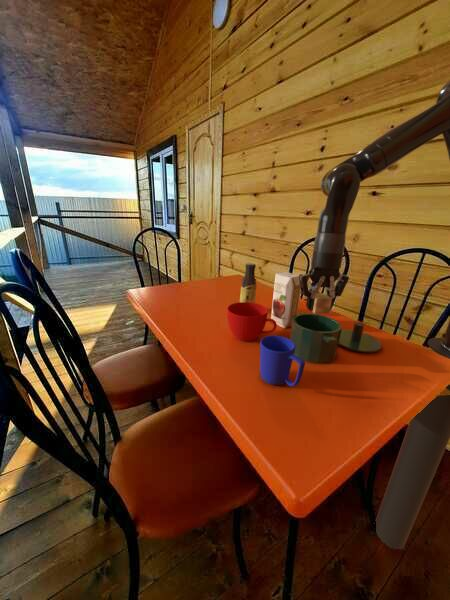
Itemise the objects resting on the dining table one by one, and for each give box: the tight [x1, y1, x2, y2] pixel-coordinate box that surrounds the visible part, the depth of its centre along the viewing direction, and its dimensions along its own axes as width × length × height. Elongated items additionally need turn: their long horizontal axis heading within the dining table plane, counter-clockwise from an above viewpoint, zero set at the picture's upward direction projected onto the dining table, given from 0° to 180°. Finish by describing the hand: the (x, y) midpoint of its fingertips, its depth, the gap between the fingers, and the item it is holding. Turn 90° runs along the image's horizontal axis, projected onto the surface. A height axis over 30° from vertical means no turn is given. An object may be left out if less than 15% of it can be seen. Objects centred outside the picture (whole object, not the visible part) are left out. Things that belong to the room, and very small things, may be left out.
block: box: [311, 292, 332, 315], centre depth 72 cm, size 4×4×4 cm
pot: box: [289, 311, 343, 364], centre depth 76 cm, size 14×19×10 cm
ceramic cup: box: [226, 301, 278, 342], centre depth 82 cm, size 13×17×10 cm
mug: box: [259, 335, 306, 387], centre depth 61 cm, size 8×12×10 cm
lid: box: [338, 321, 382, 353], centre depth 82 cm, size 15×15×7 cm
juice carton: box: [270, 271, 301, 329], centre depth 93 cm, size 8×9×19 cm
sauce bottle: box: [239, 262, 257, 303], centre depth 104 cm, size 6×6×20 cm
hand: (318, 309), depth 73 cm, fingers closed on block, 4 cm apart
